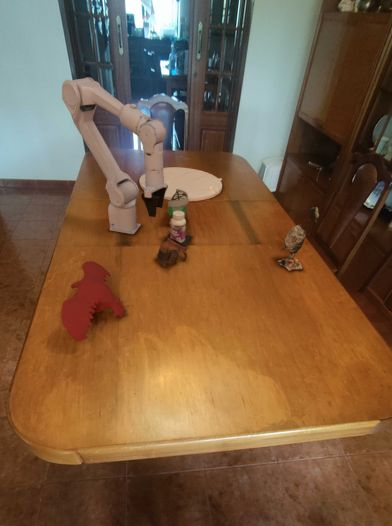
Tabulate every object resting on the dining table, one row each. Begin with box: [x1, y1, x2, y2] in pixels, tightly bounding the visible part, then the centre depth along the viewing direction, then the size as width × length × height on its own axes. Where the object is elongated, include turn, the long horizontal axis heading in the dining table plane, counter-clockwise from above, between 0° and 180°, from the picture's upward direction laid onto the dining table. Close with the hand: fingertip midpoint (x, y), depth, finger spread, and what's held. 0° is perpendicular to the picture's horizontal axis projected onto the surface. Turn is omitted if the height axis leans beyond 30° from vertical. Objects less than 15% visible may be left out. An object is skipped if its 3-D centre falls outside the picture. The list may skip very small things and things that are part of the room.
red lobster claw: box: [60, 260, 126, 343], centre depth 81 cm, size 28×9×15 cm
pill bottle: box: [169, 211, 187, 243], centre depth 110 cm, size 5×5×10 cm
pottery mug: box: [156, 237, 188, 268], centre depth 102 cm, size 12×10×8 cm
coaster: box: [164, 233, 192, 247], centre depth 114 cm, size 8×8×1 cm
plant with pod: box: [276, 206, 320, 272], centre depth 101 cm, size 8×11×20 cm
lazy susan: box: [138, 166, 223, 202], centre depth 150 cm, size 40×39×3 cm
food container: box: [167, 189, 190, 227], centre depth 121 cm, size 12×6×10 cm, turn 168°
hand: (155, 211), depth 108 cm, fingers open, 7 cm apart
